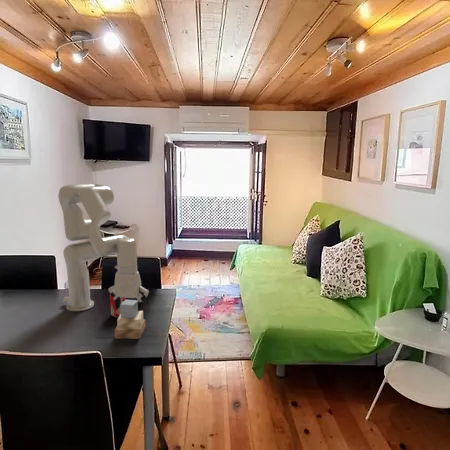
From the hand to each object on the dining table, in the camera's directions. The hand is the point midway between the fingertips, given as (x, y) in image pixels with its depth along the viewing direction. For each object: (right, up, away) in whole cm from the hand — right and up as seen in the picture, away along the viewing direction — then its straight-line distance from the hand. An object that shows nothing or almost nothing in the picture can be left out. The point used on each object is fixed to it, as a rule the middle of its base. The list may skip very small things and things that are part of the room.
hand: (129, 308), depth 146 cm
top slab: (0, -7, +1) cm, 7 cm away
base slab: (0, -11, +2) cm, 11 cm away
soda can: (-10, -7, +19) cm, 23 cm away
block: (0, -3, +1) cm, 3 cm away
